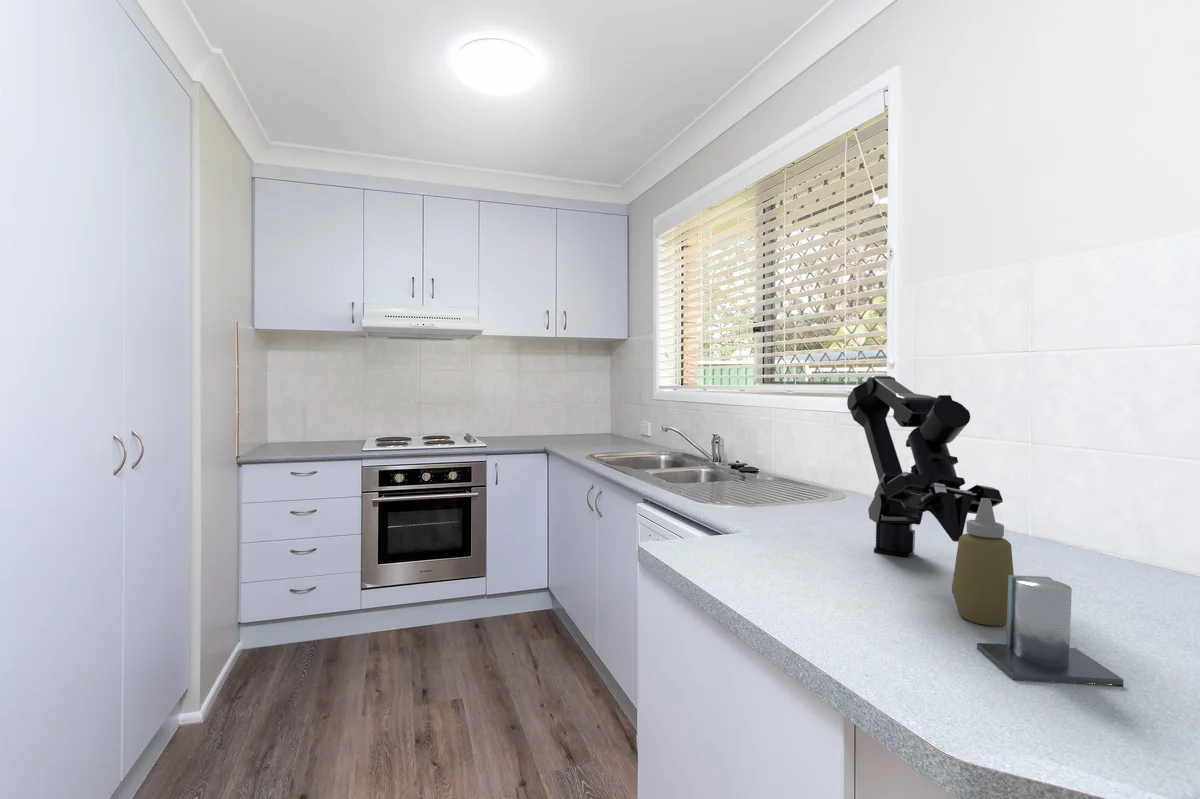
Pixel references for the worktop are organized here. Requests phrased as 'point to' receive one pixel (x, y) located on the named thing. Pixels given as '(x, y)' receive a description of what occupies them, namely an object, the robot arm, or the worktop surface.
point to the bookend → (1043, 636)
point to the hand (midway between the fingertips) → (957, 540)
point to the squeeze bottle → (983, 569)
